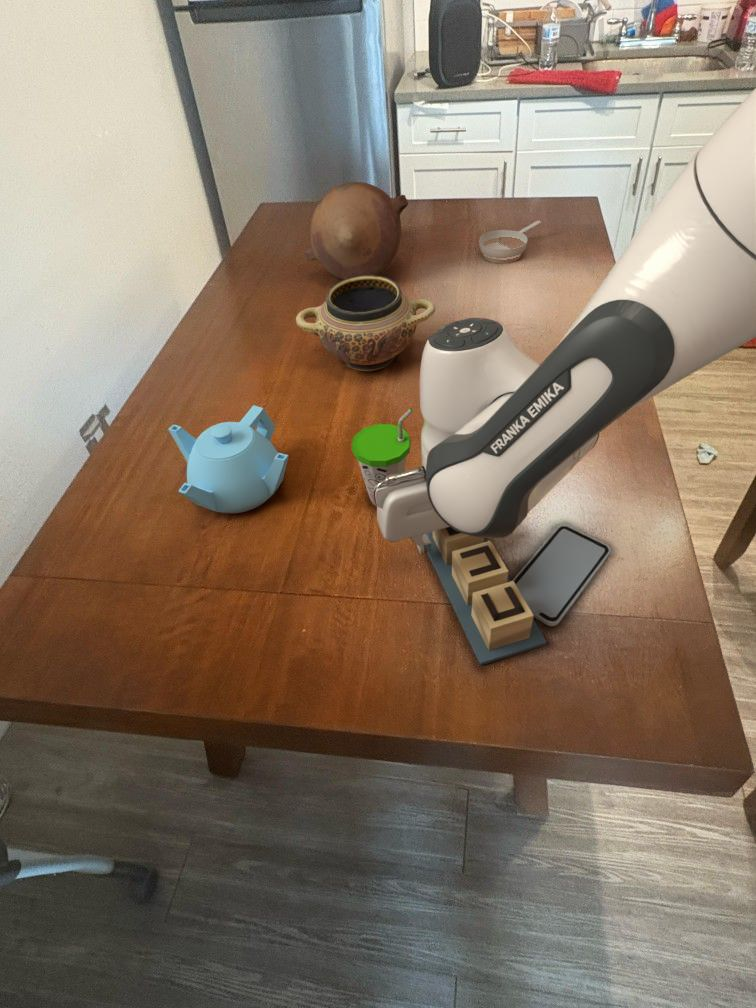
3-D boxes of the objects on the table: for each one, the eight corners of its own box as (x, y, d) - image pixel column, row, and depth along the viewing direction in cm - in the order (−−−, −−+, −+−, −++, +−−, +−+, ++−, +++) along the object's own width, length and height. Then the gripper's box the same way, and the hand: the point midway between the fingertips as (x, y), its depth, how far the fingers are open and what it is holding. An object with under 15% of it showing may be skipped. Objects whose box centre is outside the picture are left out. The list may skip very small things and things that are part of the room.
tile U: (505, 594, 73) (508, 570, 69) (467, 605, 72) (468, 582, 69) (488, 563, 76) (490, 539, 73) (451, 574, 75) (452, 550, 72)
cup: (349, 508, 85) (336, 425, 75) (372, 473, 90) (363, 389, 80) (400, 523, 83) (394, 438, 72) (421, 485, 88) (418, 401, 77)
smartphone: (613, 548, 77) (555, 626, 69) (612, 553, 77) (554, 631, 70) (561, 522, 80) (499, 594, 73) (560, 527, 81) (499, 598, 73)
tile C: (529, 638, 68) (534, 614, 65) (488, 650, 68) (491, 627, 64) (510, 603, 72) (513, 579, 68) (471, 615, 71) (472, 591, 68)
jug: (382, 303, 127) (409, 264, 150) (399, 202, 115) (427, 178, 138) (290, 279, 129) (332, 245, 152) (298, 178, 117) (342, 157, 140)
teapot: (301, 506, 87) (288, 448, 79) (197, 536, 84) (172, 480, 76) (278, 443, 97) (264, 387, 89) (184, 468, 94) (162, 413, 87)
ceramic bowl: (301, 392, 111) (283, 331, 98) (311, 322, 120) (296, 258, 107) (435, 390, 109) (434, 327, 96) (435, 319, 117) (435, 253, 104)
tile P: (482, 554, 77) (484, 530, 74) (446, 565, 76) (446, 540, 73) (467, 527, 81) (468, 502, 77) (432, 537, 80) (432, 512, 77)
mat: (546, 644, 68) (546, 641, 68) (480, 665, 67) (480, 663, 67) (475, 522, 82) (476, 519, 81) (420, 538, 81) (420, 535, 80)
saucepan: (468, 256, 140) (469, 239, 137) (520, 231, 147) (522, 215, 144) (504, 269, 133) (505, 252, 131) (556, 243, 141) (558, 226, 138)
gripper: (380, 500, 64) (388, 579, 74) (556, 453, 67) (541, 535, 77) (364, 462, 68) (374, 542, 78) (530, 420, 71) (519, 502, 81)
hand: (458, 538), depth 77 cm, fingers open, 8 cm apart
